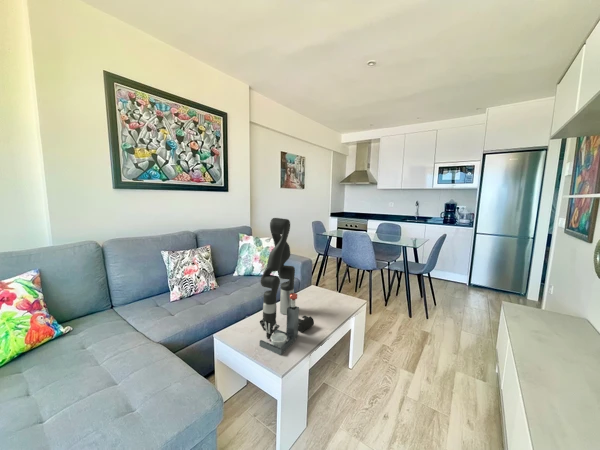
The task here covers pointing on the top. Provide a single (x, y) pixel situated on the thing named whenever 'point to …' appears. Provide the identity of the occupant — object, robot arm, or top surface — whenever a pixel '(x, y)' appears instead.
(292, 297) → the ram plunger
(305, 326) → the end cap
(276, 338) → the ramekin
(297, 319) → the press
